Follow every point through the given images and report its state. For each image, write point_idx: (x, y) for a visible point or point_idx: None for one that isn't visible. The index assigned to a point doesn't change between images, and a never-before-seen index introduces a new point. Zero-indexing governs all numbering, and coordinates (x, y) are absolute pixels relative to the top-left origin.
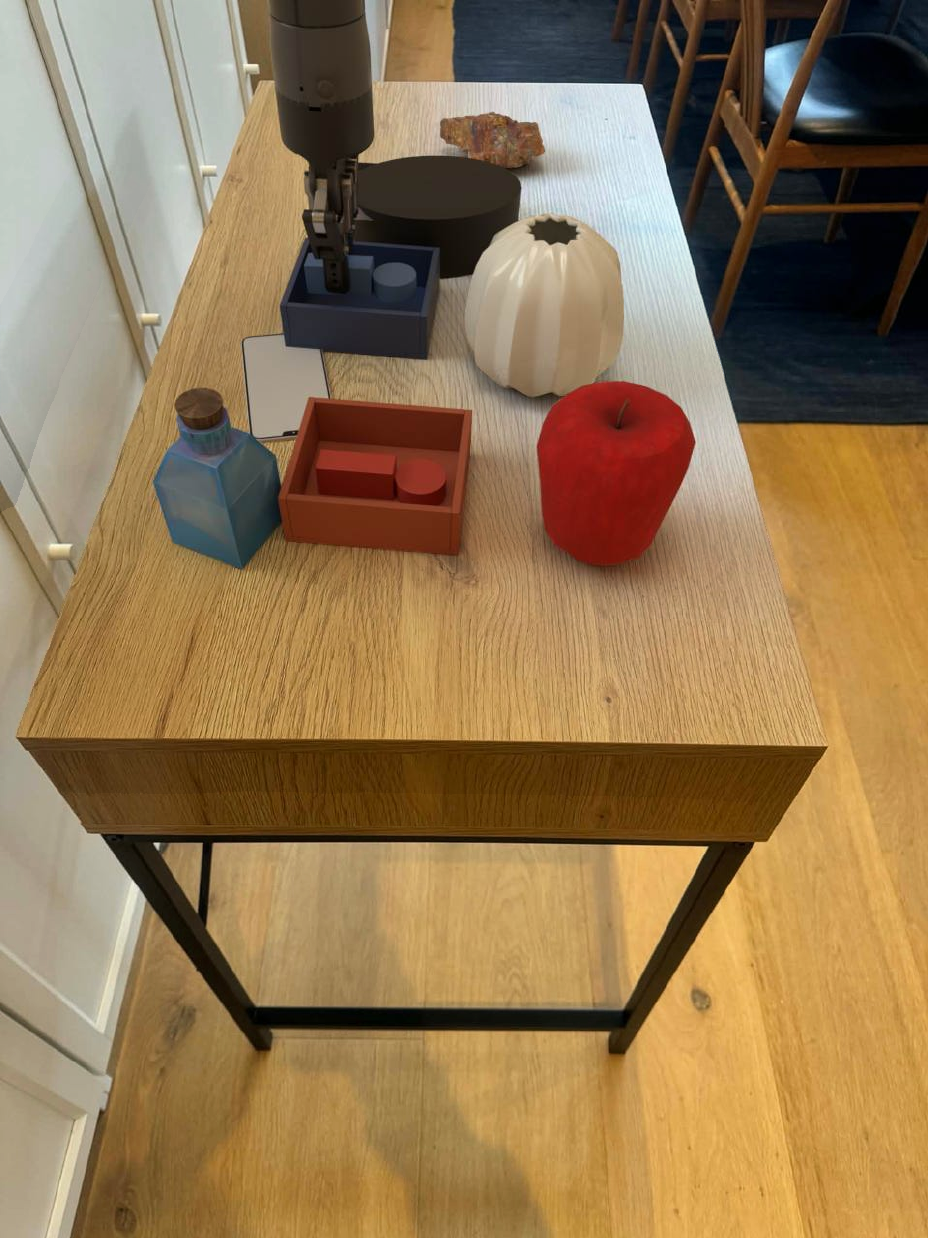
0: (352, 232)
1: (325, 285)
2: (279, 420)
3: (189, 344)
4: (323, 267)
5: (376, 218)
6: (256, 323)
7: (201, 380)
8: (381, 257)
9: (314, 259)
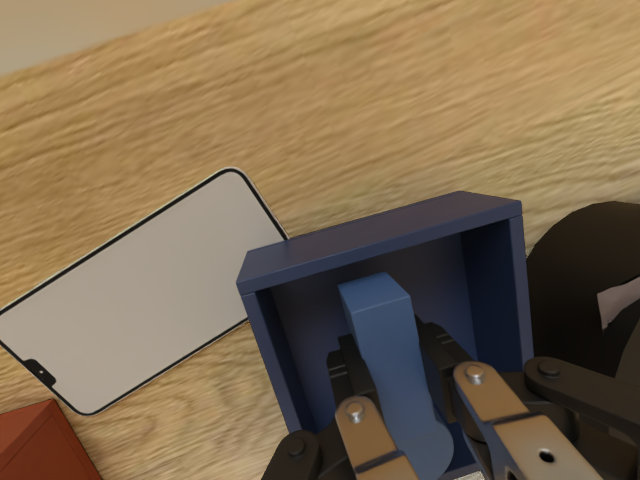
0: (464, 438)
1: (339, 341)
2: (54, 339)
3: (173, 66)
4: (347, 369)
5: (607, 339)
6: (295, 162)
7: (83, 152)
8: (505, 347)
9: (384, 323)
